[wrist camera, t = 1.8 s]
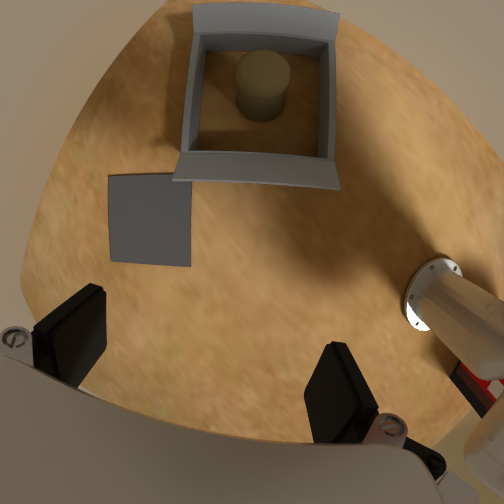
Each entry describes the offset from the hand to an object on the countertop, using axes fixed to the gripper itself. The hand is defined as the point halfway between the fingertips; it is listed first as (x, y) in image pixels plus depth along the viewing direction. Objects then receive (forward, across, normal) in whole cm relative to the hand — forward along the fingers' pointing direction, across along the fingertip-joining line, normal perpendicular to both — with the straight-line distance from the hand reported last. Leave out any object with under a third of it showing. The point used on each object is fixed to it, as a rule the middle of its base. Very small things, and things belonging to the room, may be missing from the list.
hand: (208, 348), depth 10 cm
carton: (+25, +1, -17) cm, 30 cm away
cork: (+25, +1, -17) cm, 31 cm away
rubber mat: (+25, +12, +1) cm, 28 cm away
